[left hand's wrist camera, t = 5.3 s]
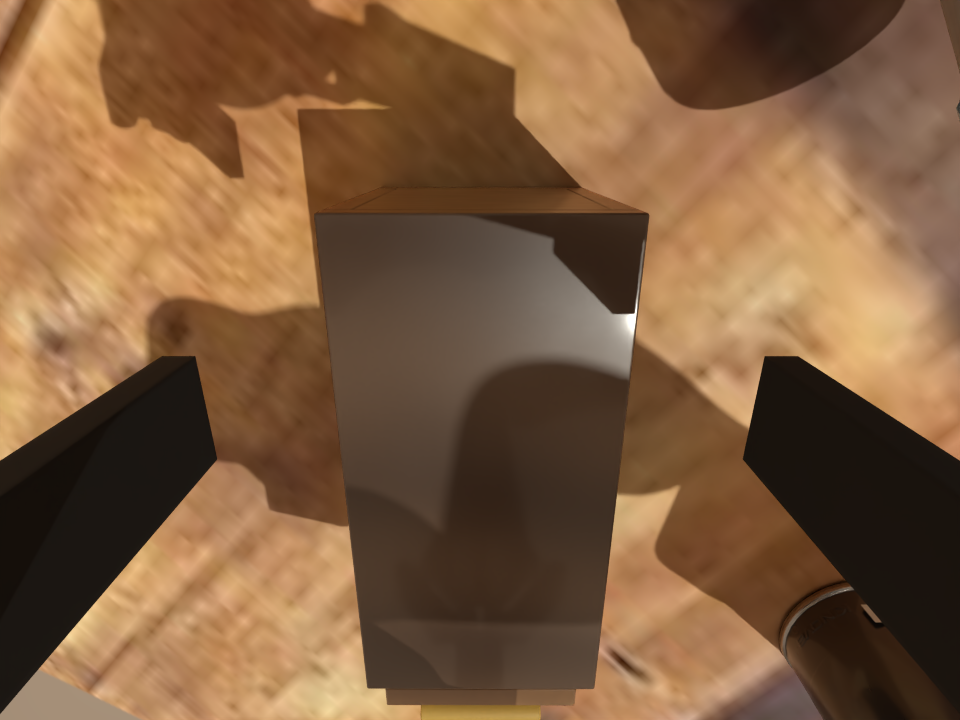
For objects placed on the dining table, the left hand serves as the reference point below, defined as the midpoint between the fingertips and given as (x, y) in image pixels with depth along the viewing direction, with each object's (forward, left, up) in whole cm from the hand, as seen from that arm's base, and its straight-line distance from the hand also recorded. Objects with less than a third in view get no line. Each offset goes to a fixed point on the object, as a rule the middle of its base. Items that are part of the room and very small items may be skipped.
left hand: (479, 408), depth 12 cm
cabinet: (+6, -4, -18) cm, 19 cm away
